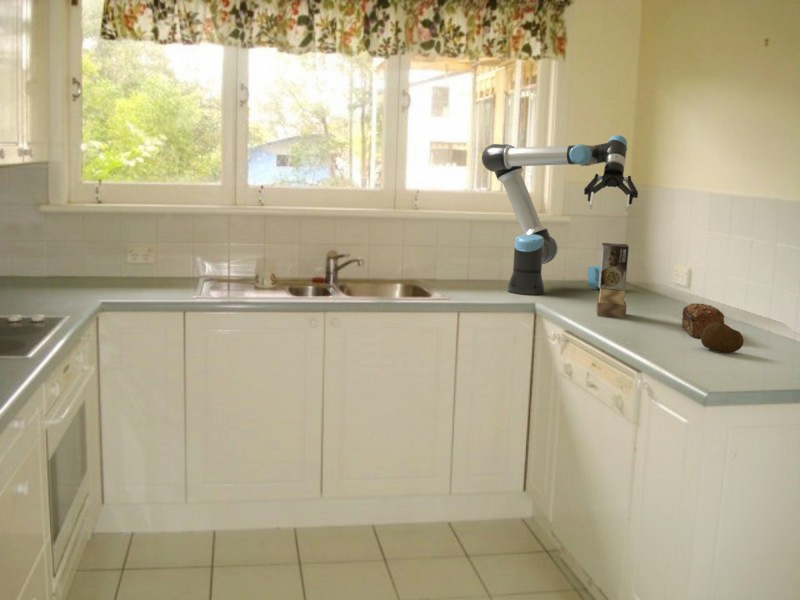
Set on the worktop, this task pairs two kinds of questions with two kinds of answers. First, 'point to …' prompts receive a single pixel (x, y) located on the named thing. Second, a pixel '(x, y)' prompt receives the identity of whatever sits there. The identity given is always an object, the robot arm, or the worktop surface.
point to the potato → (721, 338)
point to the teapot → (593, 276)
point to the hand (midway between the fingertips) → (608, 208)
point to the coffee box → (613, 266)
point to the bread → (700, 318)
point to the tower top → (612, 296)
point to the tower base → (611, 309)
